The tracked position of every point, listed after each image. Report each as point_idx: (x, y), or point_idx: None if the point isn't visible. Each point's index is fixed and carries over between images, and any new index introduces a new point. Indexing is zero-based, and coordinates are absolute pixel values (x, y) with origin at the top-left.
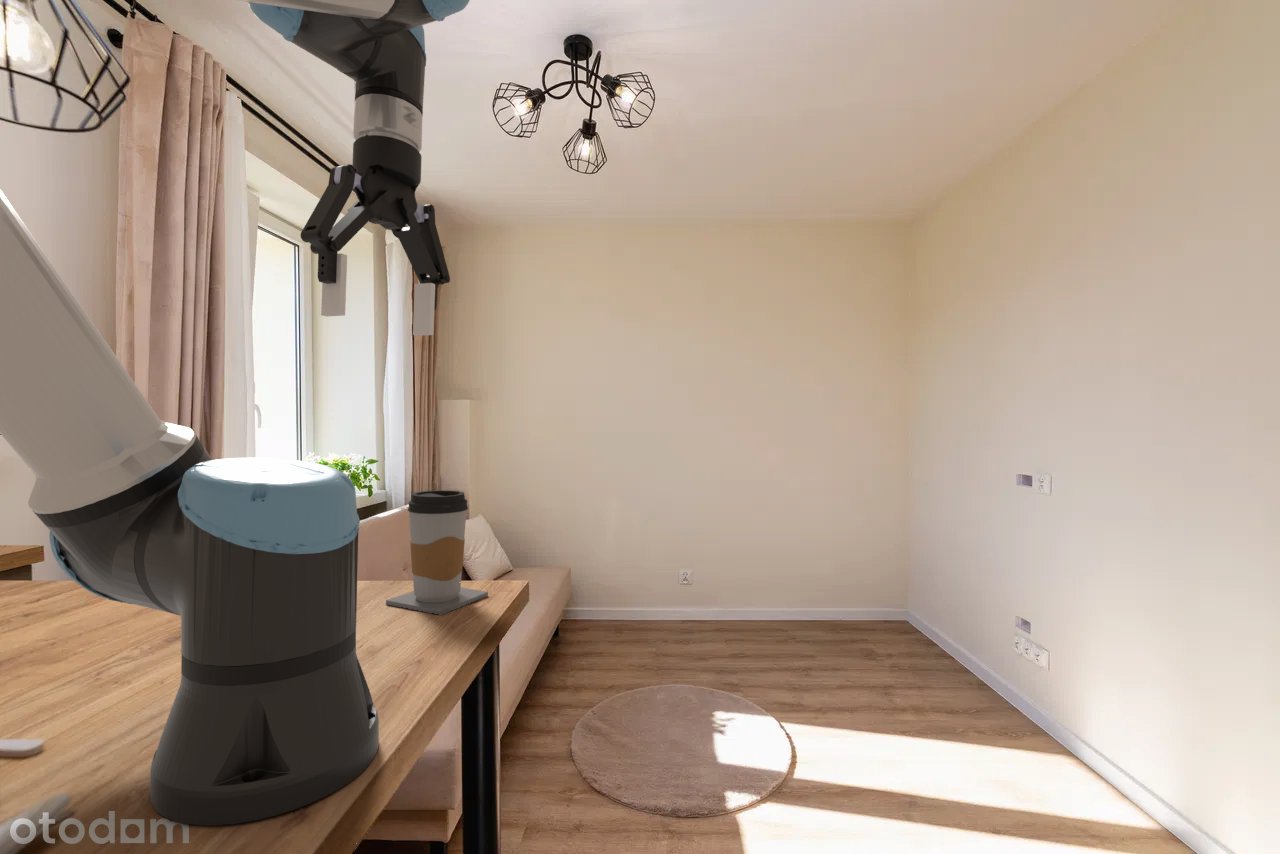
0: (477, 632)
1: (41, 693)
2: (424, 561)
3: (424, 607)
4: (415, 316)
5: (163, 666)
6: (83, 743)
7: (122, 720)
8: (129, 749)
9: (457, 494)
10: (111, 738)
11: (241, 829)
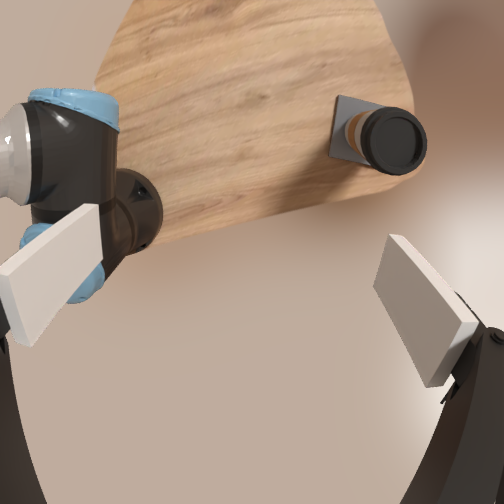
0: (301, 204)
1: (125, 35)
2: (350, 135)
3: (332, 138)
4: (406, 264)
5: (172, 51)
6: None
7: (119, 106)
8: None
9: (417, 157)
10: None
11: None
